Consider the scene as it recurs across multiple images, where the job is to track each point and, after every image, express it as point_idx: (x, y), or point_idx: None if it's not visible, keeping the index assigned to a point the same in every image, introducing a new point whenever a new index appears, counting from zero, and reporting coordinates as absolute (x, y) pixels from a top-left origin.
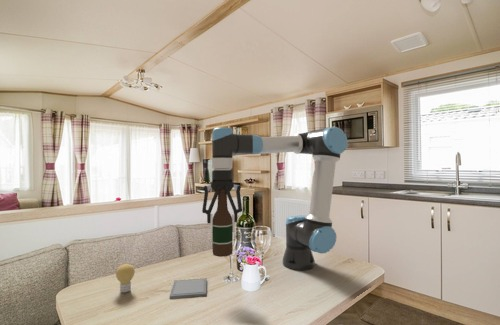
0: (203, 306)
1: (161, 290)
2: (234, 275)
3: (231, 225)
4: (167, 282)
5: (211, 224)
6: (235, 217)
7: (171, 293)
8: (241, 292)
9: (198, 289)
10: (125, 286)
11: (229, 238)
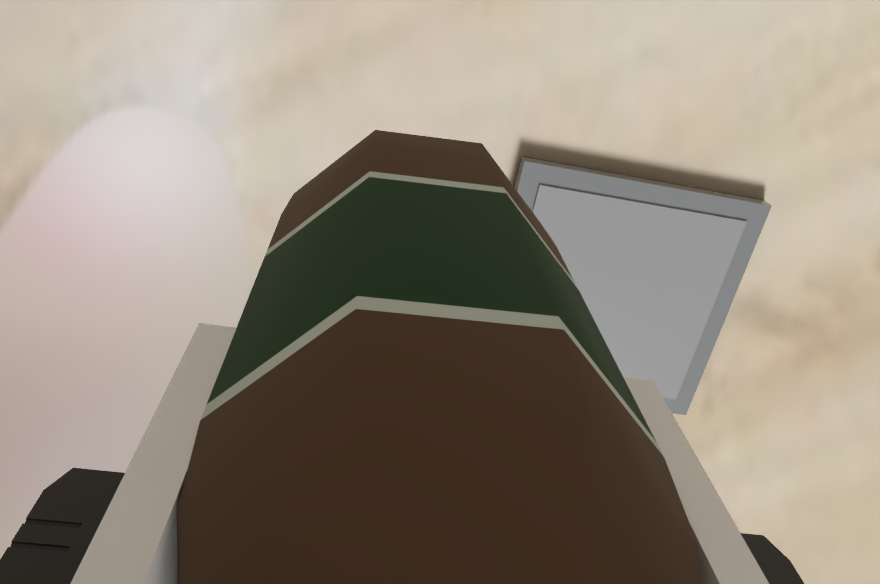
0: (578, 3)
1: (783, 326)
2: None
3: (239, 382)
4: (721, 420)
5: (691, 482)
6: (59, 566)
7: (749, 240)
8: (252, 112)
9: (565, 233)
10: None
11: (325, 226)
